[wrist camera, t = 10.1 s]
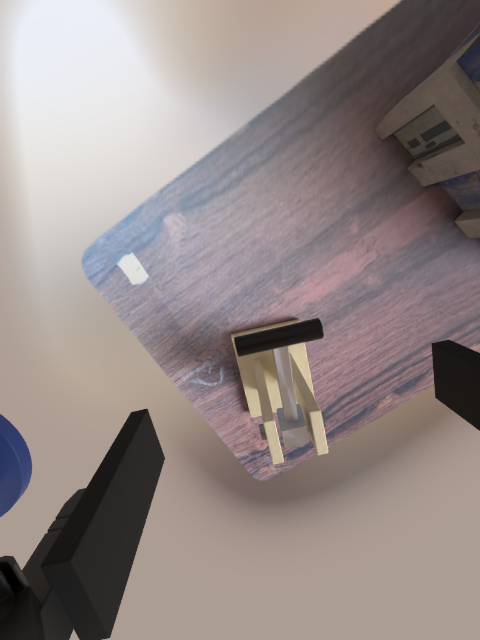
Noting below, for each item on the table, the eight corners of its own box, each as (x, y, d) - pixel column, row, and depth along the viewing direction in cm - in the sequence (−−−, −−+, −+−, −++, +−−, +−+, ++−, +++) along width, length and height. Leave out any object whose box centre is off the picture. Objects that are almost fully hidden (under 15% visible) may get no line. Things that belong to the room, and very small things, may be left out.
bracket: (231, 334, 38) (229, 387, 24) (298, 318, 38) (338, 364, 24) (250, 413, 41) (260, 503, 27) (313, 399, 41) (356, 483, 27)
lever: (232, 328, 21) (235, 351, 19) (314, 310, 21) (326, 330, 19) (260, 429, 29) (265, 452, 27) (320, 416, 29) (329, 438, 27)
